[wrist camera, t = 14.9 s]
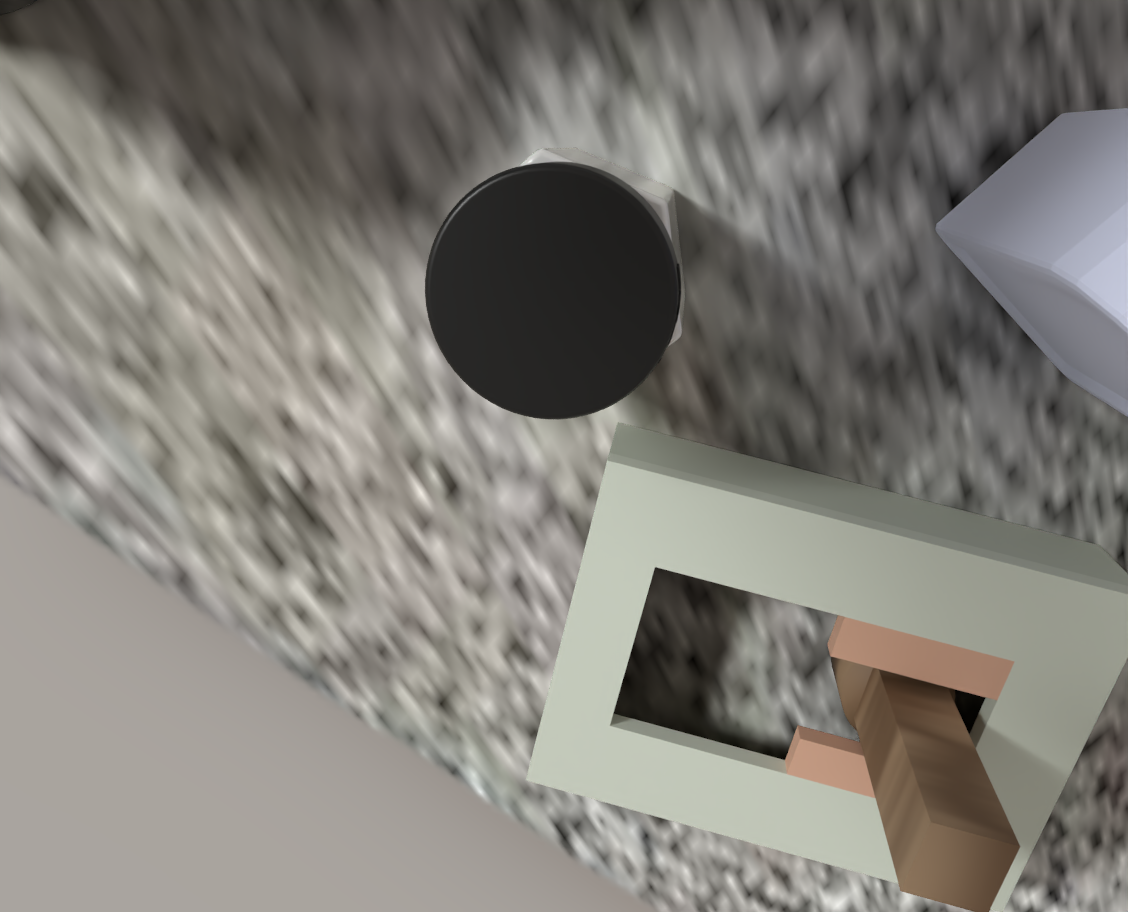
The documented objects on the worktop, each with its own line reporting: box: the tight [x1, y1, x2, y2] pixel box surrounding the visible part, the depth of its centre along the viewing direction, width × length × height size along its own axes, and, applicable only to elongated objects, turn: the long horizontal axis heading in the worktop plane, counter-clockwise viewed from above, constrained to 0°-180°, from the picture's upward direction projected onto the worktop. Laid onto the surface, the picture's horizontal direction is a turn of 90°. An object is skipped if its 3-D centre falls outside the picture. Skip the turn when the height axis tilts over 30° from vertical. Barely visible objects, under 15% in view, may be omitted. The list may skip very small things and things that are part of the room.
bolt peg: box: [831, 656, 1020, 912], centre depth 39 cm, size 5×5×14 cm
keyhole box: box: [526, 422, 1128, 912], centre depth 43 cm, size 22×16×6 cm
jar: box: [425, 148, 685, 419], centre depth 35 cm, size 9×8×12 cm
